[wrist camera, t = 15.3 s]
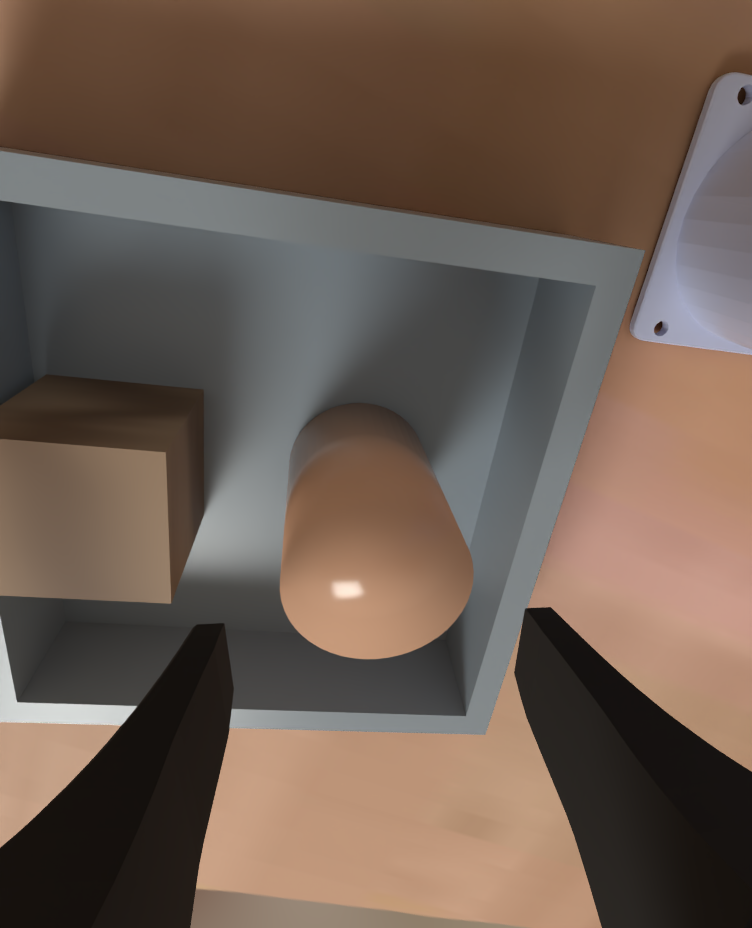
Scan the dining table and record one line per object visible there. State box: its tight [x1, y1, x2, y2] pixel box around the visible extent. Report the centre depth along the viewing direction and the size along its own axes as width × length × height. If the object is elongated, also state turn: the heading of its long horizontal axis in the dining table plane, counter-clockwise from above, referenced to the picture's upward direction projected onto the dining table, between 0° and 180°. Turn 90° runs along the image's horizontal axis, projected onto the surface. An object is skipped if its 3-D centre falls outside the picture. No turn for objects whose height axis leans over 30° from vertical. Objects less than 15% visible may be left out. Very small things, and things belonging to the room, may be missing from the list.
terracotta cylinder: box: [280, 403, 474, 659], centre depth 17 cm, size 5×5×7 cm
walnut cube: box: [0, 374, 204, 604], centre depth 17 cm, size 5×5×5 cm
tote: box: [0, 147, 645, 735], centre depth 19 cm, size 18×18×5 cm
